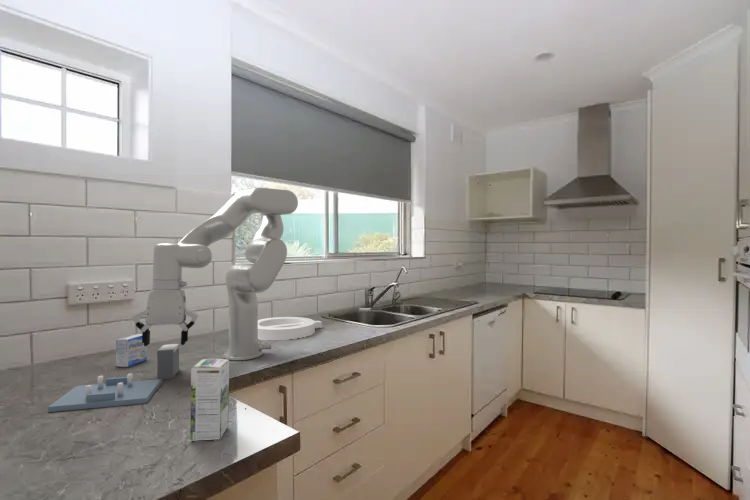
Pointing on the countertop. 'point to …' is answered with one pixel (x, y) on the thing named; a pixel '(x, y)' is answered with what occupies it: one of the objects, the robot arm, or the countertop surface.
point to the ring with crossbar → (286, 328)
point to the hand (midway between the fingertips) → (165, 344)
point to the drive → (167, 361)
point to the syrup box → (209, 399)
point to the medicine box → (130, 351)
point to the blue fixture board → (107, 394)
